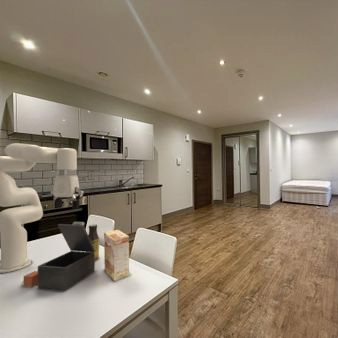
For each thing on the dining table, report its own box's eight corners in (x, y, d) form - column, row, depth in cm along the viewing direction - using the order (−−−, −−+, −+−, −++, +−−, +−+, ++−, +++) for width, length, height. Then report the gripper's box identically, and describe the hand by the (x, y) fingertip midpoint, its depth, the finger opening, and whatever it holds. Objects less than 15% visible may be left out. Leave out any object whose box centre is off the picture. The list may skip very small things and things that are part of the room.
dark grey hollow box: (64, 291, 82) (64, 268, 82) (37, 288, 84) (37, 266, 84) (94, 271, 97) (94, 252, 97) (71, 269, 99) (71, 250, 99)
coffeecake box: (103, 270, 98) (103, 232, 98) (118, 264, 104) (118, 229, 104) (113, 281, 88) (113, 239, 88) (129, 275, 93) (129, 235, 93)
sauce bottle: (92, 263, 106) (91, 227, 106) (82, 262, 107) (82, 226, 107) (101, 257, 112) (101, 223, 112) (93, 256, 114) (92, 223, 114)
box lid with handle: (82, 226, 90) (90, 219, 95) (57, 225, 92) (66, 218, 97) (94, 252, 97) (101, 244, 101) (70, 250, 99) (78, 243, 103)
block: (23, 286, 85) (23, 276, 85) (34, 280, 90) (34, 270, 90) (31, 286, 85) (31, 276, 85) (42, 281, 89) (42, 271, 89)
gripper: (43, 173, 91) (43, 209, 91) (75, 173, 89) (75, 210, 89) (59, 173, 99) (59, 206, 99) (89, 173, 97) (89, 207, 97)
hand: (67, 208), depth 94 cm, fingers open, 9 cm apart
